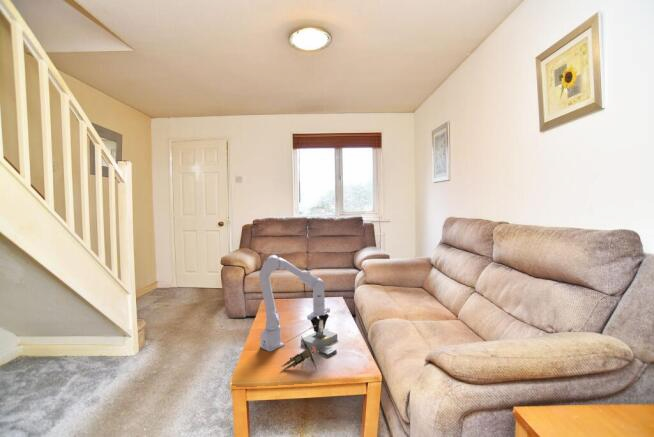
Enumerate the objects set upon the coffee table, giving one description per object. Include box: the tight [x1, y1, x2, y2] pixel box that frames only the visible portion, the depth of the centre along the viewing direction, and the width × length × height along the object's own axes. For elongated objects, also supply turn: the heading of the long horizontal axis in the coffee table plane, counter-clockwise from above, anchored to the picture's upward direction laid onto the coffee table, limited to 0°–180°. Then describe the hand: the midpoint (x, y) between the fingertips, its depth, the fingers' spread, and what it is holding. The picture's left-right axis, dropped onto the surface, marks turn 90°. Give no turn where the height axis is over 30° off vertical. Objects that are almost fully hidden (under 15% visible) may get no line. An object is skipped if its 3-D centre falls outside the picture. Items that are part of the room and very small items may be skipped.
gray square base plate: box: [317, 345, 338, 358], centre depth 139 cm, size 6×6×2 cm
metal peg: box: [314, 317, 323, 335], centre depth 150 cm, size 4×4×7 cm
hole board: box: [300, 328, 338, 352], centre depth 150 cm, size 16×10×3 cm, turn 139°
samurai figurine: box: [275, 325, 318, 371], centre depth 128 cm, size 16×10×20 cm
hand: (319, 330), depth 150 cm, fingers closed on metal peg, 4 cm apart
